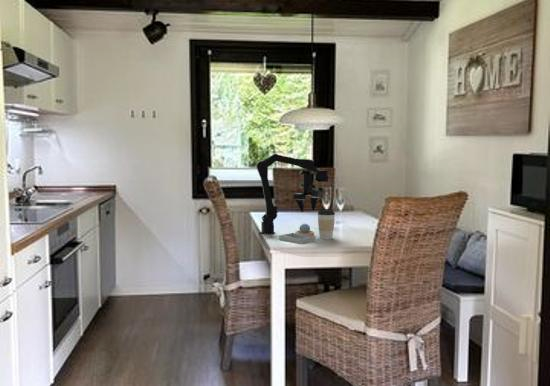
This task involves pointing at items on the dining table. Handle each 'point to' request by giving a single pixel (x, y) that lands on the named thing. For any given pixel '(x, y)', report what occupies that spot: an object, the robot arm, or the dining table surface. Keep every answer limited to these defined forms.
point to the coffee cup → (326, 223)
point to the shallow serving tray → (302, 238)
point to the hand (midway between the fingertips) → (307, 211)
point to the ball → (304, 228)
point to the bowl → (311, 233)
